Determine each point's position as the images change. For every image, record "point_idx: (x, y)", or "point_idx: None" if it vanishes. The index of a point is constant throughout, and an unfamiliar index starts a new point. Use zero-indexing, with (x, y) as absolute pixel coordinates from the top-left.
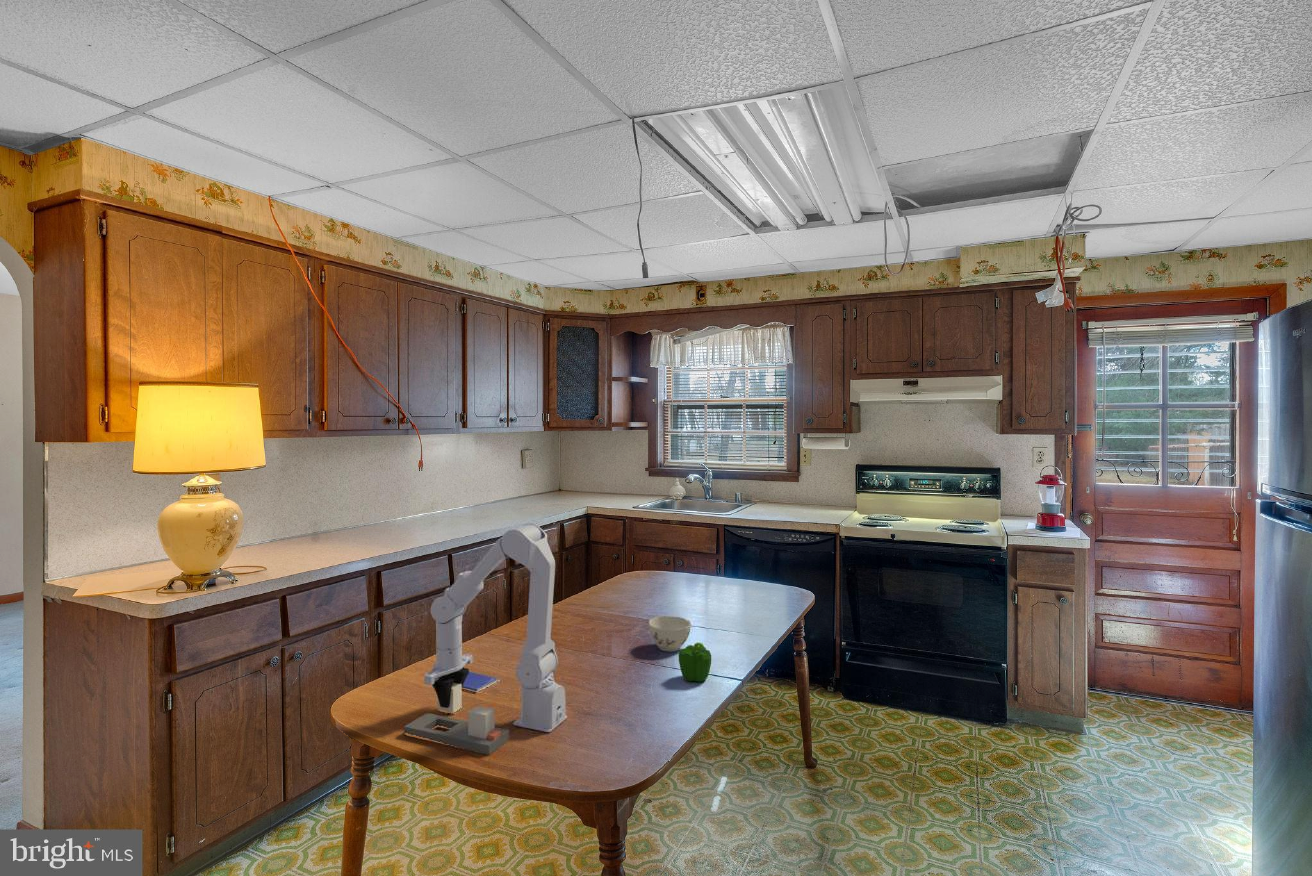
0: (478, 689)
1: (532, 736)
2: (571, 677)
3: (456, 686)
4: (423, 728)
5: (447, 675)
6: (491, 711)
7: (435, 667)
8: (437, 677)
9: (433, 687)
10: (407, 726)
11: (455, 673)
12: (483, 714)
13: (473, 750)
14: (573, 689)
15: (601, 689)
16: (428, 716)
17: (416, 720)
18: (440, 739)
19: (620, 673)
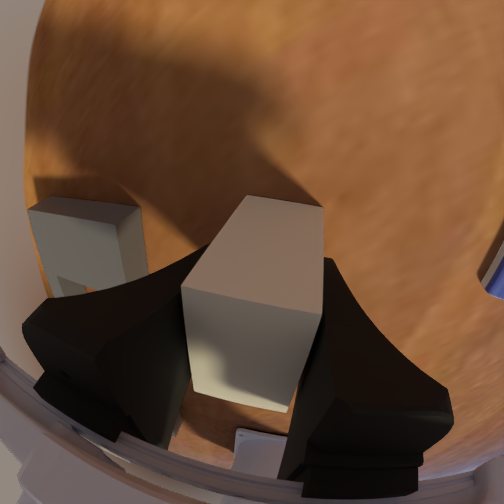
0: (493, 294)
1: (214, 441)
2: (498, 425)
3: (237, 400)
4: (53, 278)
5: (327, 375)
6: (121, 458)
7: (21, 456)
8: (42, 411)
9: (106, 291)
10: (31, 220)
11: (290, 459)
12: (101, 447)
13: None
14: (438, 448)
15: (425, 465)
16: (99, 252)
17: (60, 223)
18: None
19: (481, 455)
